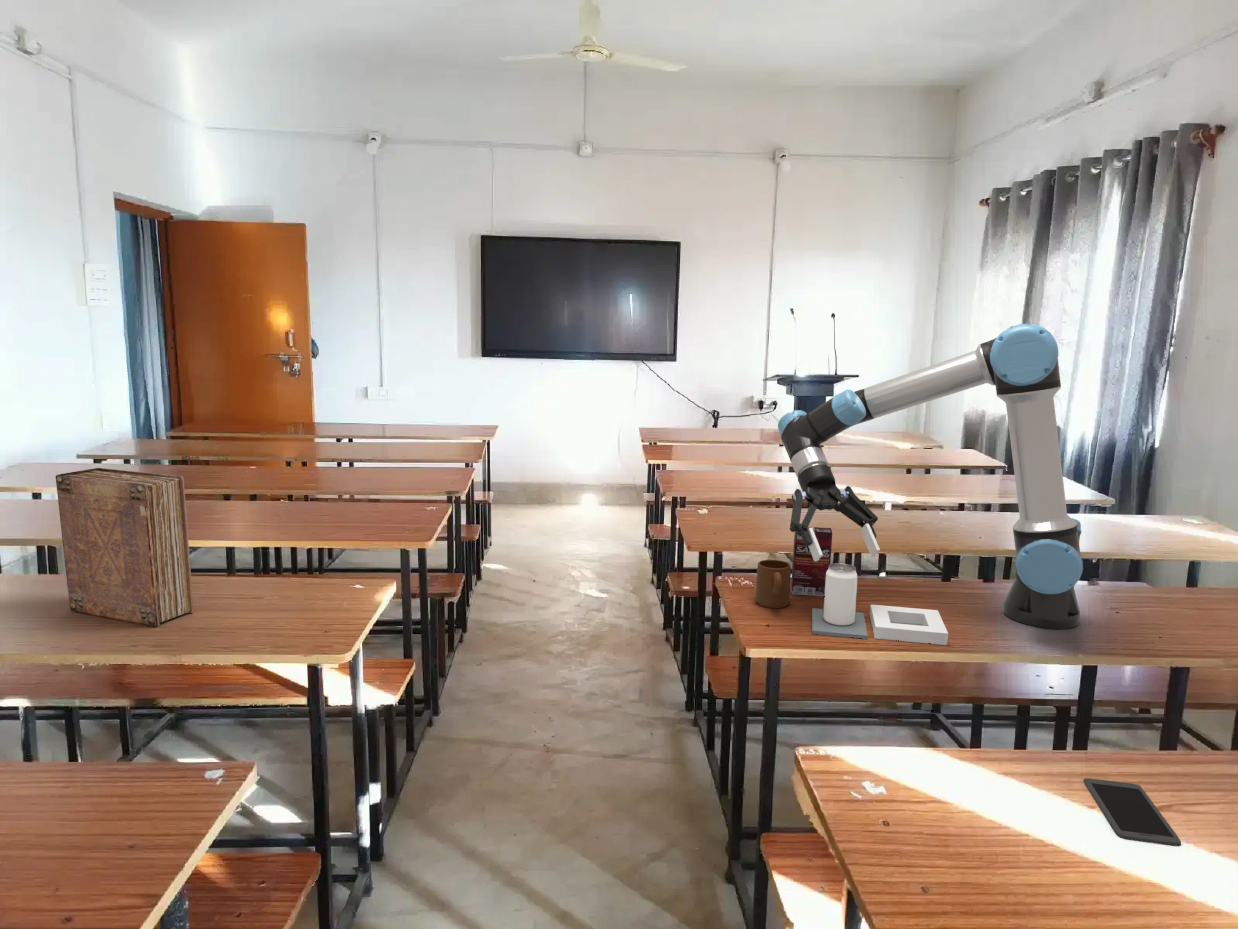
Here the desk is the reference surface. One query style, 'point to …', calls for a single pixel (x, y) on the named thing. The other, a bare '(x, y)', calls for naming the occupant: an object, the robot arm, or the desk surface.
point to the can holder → (927, 633)
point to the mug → (773, 583)
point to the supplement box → (811, 564)
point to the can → (840, 594)
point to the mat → (828, 629)
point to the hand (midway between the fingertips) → (847, 555)
